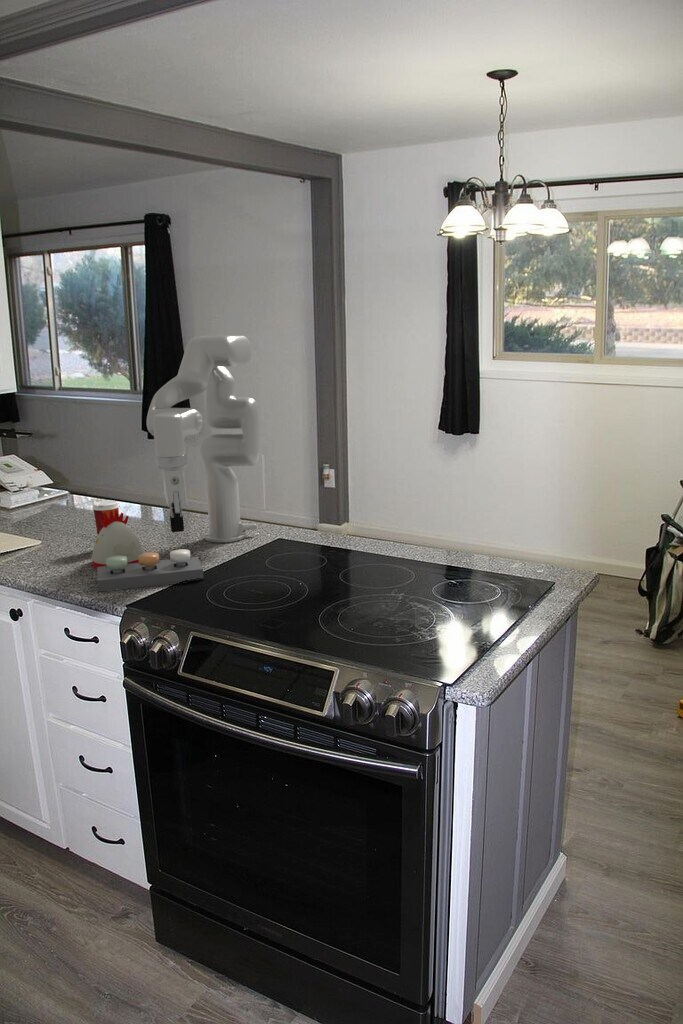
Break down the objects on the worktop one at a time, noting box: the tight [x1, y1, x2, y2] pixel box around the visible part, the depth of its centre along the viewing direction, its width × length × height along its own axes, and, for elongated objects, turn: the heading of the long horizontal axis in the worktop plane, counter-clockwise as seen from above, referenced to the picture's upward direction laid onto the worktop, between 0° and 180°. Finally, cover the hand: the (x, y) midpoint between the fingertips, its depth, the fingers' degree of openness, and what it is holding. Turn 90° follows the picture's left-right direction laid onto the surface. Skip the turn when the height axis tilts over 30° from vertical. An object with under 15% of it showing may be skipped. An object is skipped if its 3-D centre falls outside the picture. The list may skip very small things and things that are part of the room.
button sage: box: [106, 556, 128, 574], centre depth 217 cm, size 5×5×5 cm
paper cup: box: [92, 500, 120, 535], centre depth 248 cm, size 8×8×14 cm
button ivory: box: [169, 548, 191, 567], centre depth 221 cm, size 5×5×5 cm
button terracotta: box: [138, 552, 160, 570], centre depth 219 cm, size 5×5×5 cm
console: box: [96, 556, 204, 592], centre depth 219 cm, size 26×12×3 cm, turn 106°
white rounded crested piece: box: [91, 510, 144, 569], centre depth 234 cm, size 14×14×15 cm
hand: (177, 530), depth 220 cm, fingers closed
